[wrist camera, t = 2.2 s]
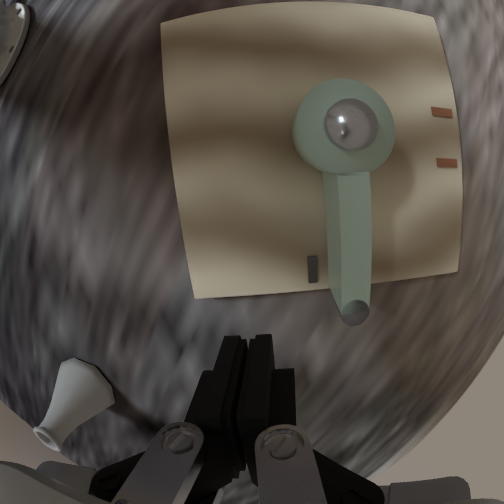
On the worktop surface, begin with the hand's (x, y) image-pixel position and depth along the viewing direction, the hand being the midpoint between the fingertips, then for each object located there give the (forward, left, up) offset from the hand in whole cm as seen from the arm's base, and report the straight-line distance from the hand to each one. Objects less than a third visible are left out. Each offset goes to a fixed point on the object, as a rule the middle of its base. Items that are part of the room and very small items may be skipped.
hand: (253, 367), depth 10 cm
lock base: (-8, +5, -11) cm, 15 cm away
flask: (+13, -21, -11) cm, 27 cm away
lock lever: (-5, +5, -9) cm, 11 cm away
